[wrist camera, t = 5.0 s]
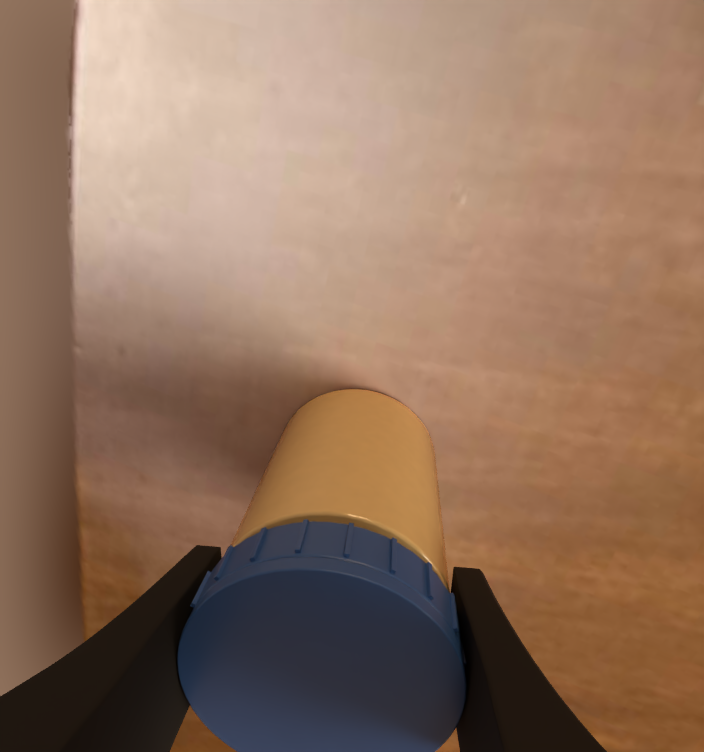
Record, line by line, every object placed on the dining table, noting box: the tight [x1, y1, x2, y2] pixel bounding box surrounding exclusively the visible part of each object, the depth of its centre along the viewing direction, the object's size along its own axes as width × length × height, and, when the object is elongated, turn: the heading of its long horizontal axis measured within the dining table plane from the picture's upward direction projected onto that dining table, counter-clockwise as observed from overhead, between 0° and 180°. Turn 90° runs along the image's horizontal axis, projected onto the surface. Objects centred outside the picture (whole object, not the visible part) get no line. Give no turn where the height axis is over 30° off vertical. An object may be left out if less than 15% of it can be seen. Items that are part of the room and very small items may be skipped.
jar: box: [231, 389, 450, 593], centre depth 15 cm, size 6×6×8 cm
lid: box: [177, 519, 467, 752], centre depth 11 cm, size 6×6×2 cm
